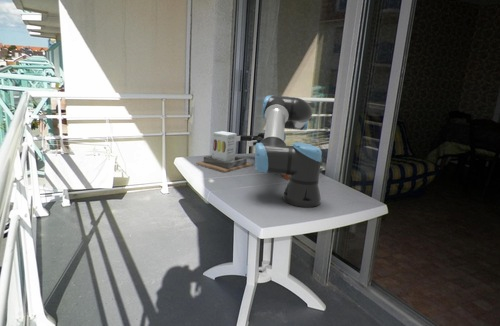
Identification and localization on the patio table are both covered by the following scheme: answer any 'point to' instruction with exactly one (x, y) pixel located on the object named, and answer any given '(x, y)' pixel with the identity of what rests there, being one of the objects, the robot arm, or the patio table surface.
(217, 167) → the tub holder
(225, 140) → the supplement box
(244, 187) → the patio table surface
